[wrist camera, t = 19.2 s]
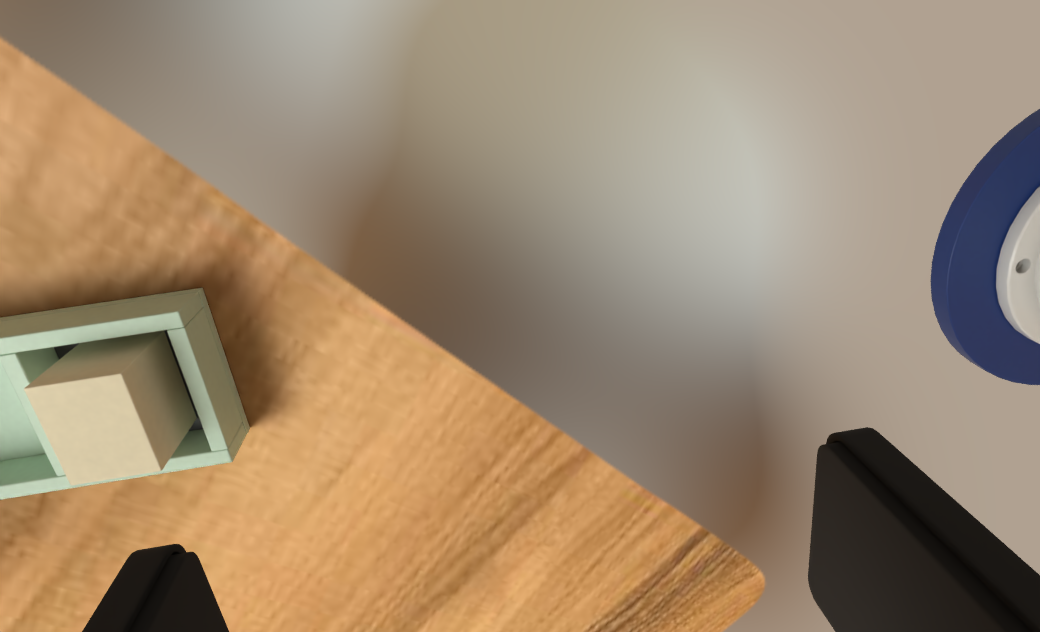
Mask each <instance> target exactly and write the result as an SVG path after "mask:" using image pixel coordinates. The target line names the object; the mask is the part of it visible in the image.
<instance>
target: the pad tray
mask: <svg viewBox="0 0 1040 632" xmlns="http://www.w3.org/2000/svg"><path fill="white" fill-rule="evenodd" d="M157 331H164V332H165V334H166V337H167V340H168V342H169V345H170V348H171V350H172V353H173V356H174V358H175V361H176V364H177V366H178V369H179V372H180V375H181V377H182V380H183V383H184V385H185V388H186V391H187V393H188V396H189V399H190V401H191V404H192V407H193V409H194V412H195V415H196V417H197V419H196V420H195V422H194V423H193V425H192V426H191V428H190V429H189V431H188V432H187V434H186V435H185V437H184V438H183V440H182V441H181V443H180V444H179V446H178V447H177V449H176V450H175V452H174V453H173V455H172V456H171V458H170V459H169V461H168V462H167V464H166V465H165V467H164V468H163V470H162V471H158V472H152V473H146V474H140V475H134V476H127V477H121V478H115V479H109V480H103V481H97V482H90V483H84V484H78V485H70V483H69V481H68V479H67V477H66V475H65V473H64V471H63V469H62V467H61V464H60V462H59V460H58V458H57V456H56V454H55V452H54V450H53V448H52V446H51V444H50V442H49V440H48V438H47V436H46V434H45V432H44V430H43V428H42V425H41V423H40V421H39V419H38V417H37V415H36V413H35V411H34V409H33V407H32V405H31V403H30V401H29V399H28V397H27V395H26V393H25V391H24V388H25V387H26V386H27V385H29V384H30V383H31V382H32V381H34V380H35V379H36V378H37V377H39V376H40V375H41V374H42V373H43V372H45V371H46V370H47V369H48V368H50V367H51V366H52V365H53V364H55V363H56V362H57V361H58V360H60V359H61V358H62V357H63V356H64V355H66V354H67V353H68V352H69V351H71V350H72V349H73V348H74V347H76V346H77V345H78V344H79V343H84V342H91V341H97V340H104V339H110V338H117V337H124V336H130V335H137V334H144V333H150V332H157ZM249 429H250V427H249V424H248V421H247V418H246V415H245V412H244V409H243V406H242V403H241V400H240V397H239V394H238V391H237V388H236V385H235V382H234V379H233V377H232V374H231V371H230V368H229V365H228V362H227V359H226V356H225V353H224V350H223V347H222V344H221V341H220V338H219V335H218V332H217V329H216V326H215V323H214V320H213V317H212V314H211V311H210V308H209V305H208V302H207V299H206V297H205V294H204V291H203V288H197V289H190V290H183V291H176V292H169V293H163V294H156V295H149V296H142V297H136V298H129V299H122V300H115V301H109V302H102V303H95V304H88V305H82V306H75V307H68V308H61V309H55V310H48V311H41V312H34V313H28V314H21V315H14V316H7V317H1V318H0V500H2V499H8V498H14V497H21V496H27V495H33V494H39V493H45V492H51V491H58V490H64V489H70V488H76V487H82V486H88V485H94V484H101V483H107V482H113V481H119V480H125V479H131V478H137V477H144V476H150V475H156V474H162V473H168V472H174V471H181V470H187V469H193V468H199V467H205V466H211V465H217V464H224V463H230V462H232V461H233V460H234V458H235V456H236V454H237V452H238V450H239V448H240V446H241V444H242V442H243V440H244V438H245V436H246V434H247V433H248V431H249Z"/></svg>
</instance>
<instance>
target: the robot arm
mask: <svg viewBox="0 0 1040 632" xmlns="http://www.w3.org/2000/svg"><path fill="white" fill-rule="evenodd" d="M996 290H997V296H998V301H999V305H1000V307H1001V309H1002V311H1003V314H1004V316H1005V318H1006V319H1007V320H1008V322H1009V323H1010V324H1011V325H1012V326H1013V328H1014V329H1015V330H1017V331H1018V332H1019V333H1021V334H1022V335H1024V336H1025V337H1027V338H1028V339H1030V340H1033V341H1035V342H1037V343H1039V344H1040V186H1039V187H1038V188H1037V189H1036V190H1035V192H1034V193H1033V194H1032V195H1031V197H1030V198H1029V199H1028V200H1027V202H1026V203H1025V204H1024V205H1023V207H1022V208H1021V210H1020V211H1019V213H1018V215H1017V216H1016V218H1015V220H1014V221H1013V223H1012V225H1011V226H1010V228H1009V231H1008V233H1007V235H1006V238H1005V240H1004V243H1003V245H1002V248H1001V251H1000V256H999V260H998V265H997V272H996ZM809 558H810V559H809V571H808V581H809V587H810V590H811V592H812V595H813V598H814V600H815V601H816V603H817V605H818V606H819V608H820V609H821V611H822V612H823V614H824V615H825V617H826V618H827V619H828V621H829V623H830V624H831V626H832V627H833V629H834V630H835V632H1040V575H1039V574H1038V573H1036V572H1035V571H1034V570H1033V569H1032V568H1031V567H1030V566H1029V565H1027V564H1026V563H1025V562H1024V561H1023V560H1022V559H1021V558H1020V557H1018V556H1017V555H1016V554H1015V553H1014V552H1013V551H1012V550H1011V549H1009V548H1008V547H1007V546H1006V545H1005V544H1004V543H1003V542H1001V541H1000V540H999V539H998V538H997V537H996V536H995V535H994V534H992V533H991V532H990V531H989V530H988V529H987V528H986V527H985V526H983V525H982V524H981V523H980V522H979V521H978V520H977V519H976V518H974V517H973V516H972V515H971V514H970V513H969V512H968V511H967V510H965V509H964V508H963V507H962V506H961V505H960V504H959V503H957V502H956V501H955V500H954V499H953V498H952V497H951V496H950V495H948V494H947V493H946V492H945V491H944V490H943V489H942V488H941V487H939V486H938V485H937V484H936V483H935V482H934V481H933V480H931V479H930V478H929V477H928V476H927V475H926V474H925V473H924V472H923V471H921V470H920V469H919V468H918V467H917V466H916V465H914V464H913V463H912V462H911V461H910V460H909V459H908V458H907V457H905V456H904V455H903V454H902V453H901V452H900V451H899V450H898V449H896V448H895V447H894V446H893V445H892V444H891V443H890V442H889V441H888V440H886V439H885V438H884V437H883V436H882V435H880V433H878V432H877V431H876V430H874V429H873V428H868V427H867V428H861V429H855V430H849V431H844V432H837V433H833V434H831V435H830V436H829V437H828V439H827V443H826V444H825V445H821V446H820V447H819V449H818V454H817V464H816V478H815V491H814V505H813V517H812V531H811V544H810V557H809ZM82 632H229V630H228V628H227V625H226V623H225V621H224V618H223V616H222V613H221V611H220V609H219V606H218V604H217V601H216V599H215V596H214V594H213V592H212V589H211V587H210V584H209V582H208V580H207V577H206V575H205V572H204V570H203V567H202V565H201V563H200V560H199V558H198V556H197V555H196V554H195V553H194V552H187V553H186V551H185V549H184V548H183V547H182V546H181V545H180V544H172V545H166V546H160V547H154V548H148V549H142V550H137V551H135V552H133V553H132V554H131V555H130V556H129V557H128V559H127V560H126V562H125V563H124V565H123V567H122V568H121V570H120V571H119V573H118V575H117V576H116V578H115V580H114V581H113V583H112V584H111V586H110V588H109V589H108V591H107V592H106V594H105V596H104V597H103V599H102V601H101V602H100V604H99V605H98V607H97V609H96V610H95V612H94V613H93V615H92V617H91V618H90V620H89V622H88V623H87V625H86V626H85V628H84V630H83V631H82Z"/></svg>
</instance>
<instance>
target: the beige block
mask: <svg viewBox="0 0 1040 632" xmlns="http://www.w3.org/2000/svg"><path fill="white" fill-rule="evenodd" d="M24 391H25V393H26V395H27V397H28V399H29V401H30V403H31V405H32V407H33V409H34V411H35V413H36V415H37V417H38V419H39V421H40V423H41V425H42V428H43V430H44V432H45V434H46V436H47V438H48V440H49V442H50V444H51V446H52V448H53V450H54V452H55V454H56V456H57V458H58V460H59V462H60V464H61V467H62V469H63V471H64V473H65V475H66V477H67V479H68V481H69V483H70V485H78V484H84V483H90V482H97V481H103V480H109V479H115V478H121V477H127V476H134V475H140V474H146V473H152V472H158V471H162V470H163V468H164V467H165V465H166V464H167V462H168V461H169V459H170V458H171V456H172V455H173V453H174V452H175V450H176V449H177V447H178V446H179V444H180V443H181V441H182V440H183V438H184V437H185V435H186V434H187V432H188V431H189V429H190V428H191V426H192V425H193V423H194V422H195V420H196V419H197V417H196V415H195V412H194V409H193V407H192V404H191V401H190V399H189V396H188V393H187V391H186V388H185V385H184V383H183V380H182V377H181V375H180V372H179V369H178V366H177V364H176V361H175V358H174V356H173V353H172V350H171V348H170V345H169V342H168V340H167V337H166V334H165V332H164V331H157V332H150V333H144V334H137V335H130V336H124V337H117V338H110V339H104V340H97V341H91V342H84V343H79V344H78V345H77V346H76V347H74V348H73V349H72V350H71V351H69V352H68V353H67V354H66V355H64V356H63V357H62V358H61V359H60V360H58V361H57V362H56V363H55V364H53V365H52V366H51V367H50V368H48V369H47V370H46V371H45V372H43V373H42V374H41V375H40V376H39V377H37V378H36V379H35V380H34V381H32V382H31V383H30V384H29V385H27V386H26V387H25V388H24Z"/></svg>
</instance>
